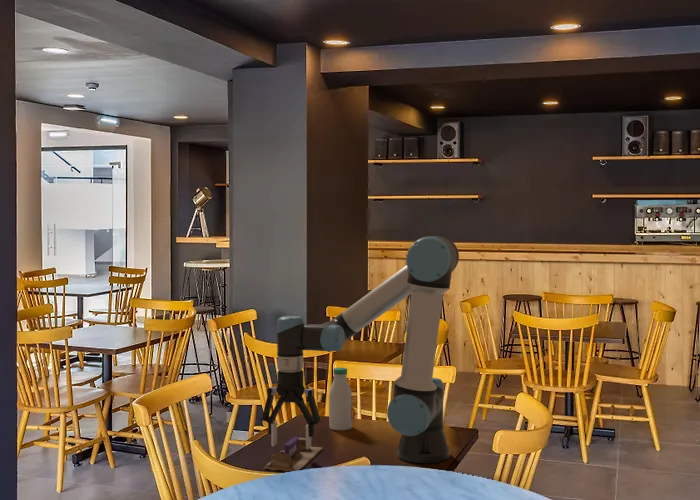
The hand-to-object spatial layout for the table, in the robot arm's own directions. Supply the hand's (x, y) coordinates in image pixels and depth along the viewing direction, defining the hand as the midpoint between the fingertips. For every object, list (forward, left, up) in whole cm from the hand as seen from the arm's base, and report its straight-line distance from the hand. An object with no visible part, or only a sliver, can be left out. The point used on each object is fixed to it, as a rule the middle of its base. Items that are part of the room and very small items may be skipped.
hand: (291, 446), depth 223 cm
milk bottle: (+14, -34, -4) cm, 37 cm away
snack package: (0, 0, -3) cm, 3 cm away
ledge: (-1, 0, -4) cm, 4 cm away
